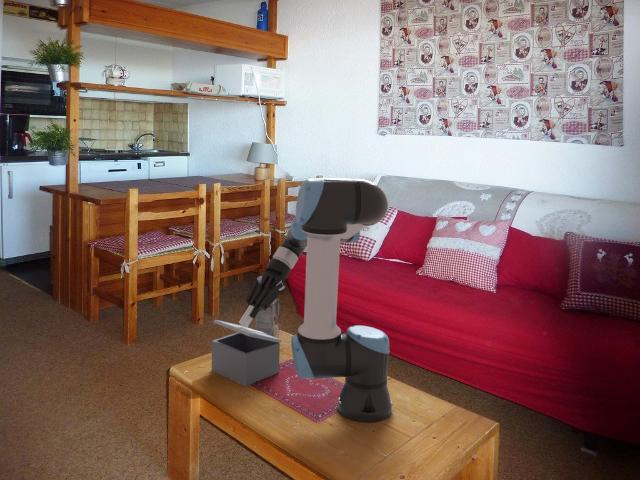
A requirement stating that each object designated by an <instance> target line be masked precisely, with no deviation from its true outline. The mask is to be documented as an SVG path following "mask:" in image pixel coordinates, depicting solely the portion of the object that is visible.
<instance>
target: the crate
mask: <svg viewBox="0 0 640 480" xmlns="http://www.w3.org/2000/svg"><path fill="white" fill-rule="evenodd" d="M280 346H281V342H280V343H278V342H273V341H269V340H264V339H259V338H255V337H250V336H247V335H244V334H242V333H239V332H235V333H231V334H229V335H226V336H222V337H220V338H216V339H212V340H211V371H212V372H214V373H216V374H218V375H219V376H220V375H221V376H222V377H225V378H227V379H229V380H231V381H233V382H236V383H237V384H239V385H242V386H244V387H248V386H250V385H252V384H255V383H257V382H256V381H258V382H260V381H262V380H261V379H263V380H265V379H267V377H268V378H270V377H273V376H275V375H277V373H278V374H279V373H280V351H281V350H280V348H281V347H280ZM274 374H275V375H274ZM272 375H273V376H272ZM269 376H270V377H269ZM264 378H265V379H264ZM259 380H260V381H259ZM254 382H255V383H254Z"/></svg>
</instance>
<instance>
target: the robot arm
mask: <svg viewBox="0 0 640 480" xmlns="http://www.w3.org/2000/svg"><path fill="white" fill-rule="evenodd" d="M387 198H388V197H387V196H386V194H385V192H384V191H383V189H381V188H380V187H379V186H378V185H377V184H376V183H374V182H372V181H369V180H366V179H362V178H332V177H331V178H327V177H325V178H324V177H319V178H318V177H317V178H307V179H305V180H304V181H303V182H302V183H301V185H300V187H299V189H298V193H297V198H296V204H295V218H294V220H293V221H291V224H290V225H289V227H290V228H289V230H288V232H287V234H286V236H284V239H283V241H282V242H281V244H280V245H279V247H278V248H277V250H276V251H275V252H274V254H273V256H272V258H271V259H270V261H269V262H268V263H267V265H266V270H265V271H264V272H263V273H262V275H260V276H257V275H255V276H254V278H253V282H252V285H251V287H250V290H249V292H248V294H247V296H246V298H245V302H246V303H247V307H246V308H245V310H243V315H242V316H241V318H240V320H239V321H238V323H239V325H241V326H243V327H246V328H247V327H248V328H249V326H250V324H251V322H252V321H253V320H254V319H256V315H257V314H258V312H259V311H260V310H266V309H267V308H268V307H269V306H270V304H271V303H272V302H273V301H274V300H275V299H278V296H280V294H281V293H283V292H284V291H285V290H286V289H287V287H286V286H285V285H284V284H283V283H284V280H287V278H288V277H289V275H290V274H291V270H292V269H294V267H295V265H296V264H297V262H298V260H299V259H300V257H301V255H302V254H303V253H304V251H305V249H306V262H305V263H306V264H305V284H304V285H305V286H304V308H303V309H304V310H303V311H304V314H303V315H304V316H303V322H302V324H300V325H299V326H298V328H297V334H294V335H292V336H291V344H290V345H291V350H292V351H291V352H292V359H293V365H294V369H295V373H296V375H297V376H298V377H299V378H300V379H308V380H309V379H312V380H316V379H332V378H335V379H336V378H344V383H343V387H342V388H341V392H340V394H339V397H338V399H337V410H338V412H339V413H340V414H341V415H342V416H343V417H345V418H347V419H350V420H352V421H357V422H363V423H365V422H366V423H373V422H380V421H382V420H386V419H387V418H389V417H390V416H391V414H392V412H393V411H392V409H393V403H392V399H391V396H390V391H389V388H388V387H389V386H388V374H389V359H390V357H389V356H390V338H389V337H388V335H387V334H386V333H385V332H384V331H383V330H380V329H377V328H375V327H371V326H367V325H352V326H349V327H348V328H347V330H346V333H342V329H341V328H340V327H339V326H338V325H337V309H338V292H339V291H338V290H339V273H340V271H339V270H340V253H341V250H340V249H341V243H345V244H349V243H357V242H358V241H359V239H360V236H361V235H360V234H361V231H362V230H364V229H365V228H366V227H370V226H371V227H372V226H374V225H377V224H378V223H379V222H381V221H382V220H383V218H384V217H385V216H386V214H387V212H388V207H389V202H388V199H387Z"/></svg>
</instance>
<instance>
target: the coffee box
mask: <svg viewBox="0 0 640 480" xmlns="http://www.w3.org/2000/svg"><path fill="white" fill-rule="evenodd" d="M280 303H281V298H276V299H275V300H274V301H273V302H272V303H271V304H270V306H269V307H268V308H267V309H266V310H260V311H259V312H258V314H257V315H256V317H255V329H254V330H256V331H261V332H263V333H266V334H267V335H269V336H272V337H275V338H277V339H280V311H281V309H280Z"/></svg>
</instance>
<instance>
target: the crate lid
mask: <svg viewBox="0 0 640 480" xmlns="http://www.w3.org/2000/svg"><path fill="white" fill-rule="evenodd" d="M213 324H215V325H216V324H217V325H219V326H221V327H223V328H225V329H229V330H231V331H233V332H235V333H238V332H239V333H242V334H244V335H247V336H250V337H255V338H259V339H264V340H269V341H273V342H278V343H280V344H281V342H282V340H281V339H280V338H279V339H277V338H275V337H272V336H269V335H267V334H266V333H263V332H261V331H256V330H255V329H253V328H251V327H249V326H248V327H247V328H246V327H243V326H242V325H241V324H235V323H231V322H227V321H223V320H218V319H213Z"/></svg>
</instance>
